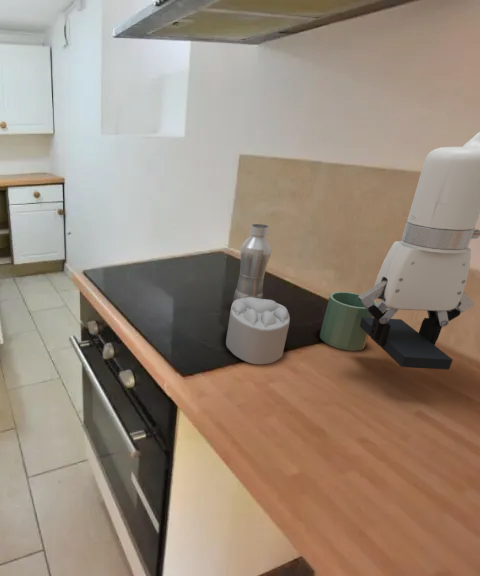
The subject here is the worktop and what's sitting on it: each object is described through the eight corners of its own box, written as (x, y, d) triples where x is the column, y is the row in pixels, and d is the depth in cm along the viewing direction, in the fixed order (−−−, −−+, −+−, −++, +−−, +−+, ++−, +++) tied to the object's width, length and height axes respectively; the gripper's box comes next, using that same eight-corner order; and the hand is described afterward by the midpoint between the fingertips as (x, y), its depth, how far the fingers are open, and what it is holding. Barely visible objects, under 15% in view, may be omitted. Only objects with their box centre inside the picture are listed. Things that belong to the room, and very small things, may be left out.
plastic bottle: (263, 307, 90) (278, 224, 83) (257, 318, 85) (273, 231, 77) (235, 301, 94) (247, 221, 86) (228, 311, 88) (240, 227, 81)
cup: (353, 332, 79) (365, 292, 76) (372, 352, 72) (386, 309, 69) (313, 329, 80) (323, 290, 77) (328, 349, 73) (340, 306, 70)
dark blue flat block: (398, 328, 68) (401, 319, 67) (448, 369, 56) (453, 359, 55) (359, 326, 69) (361, 317, 68) (401, 366, 57) (404, 356, 56)
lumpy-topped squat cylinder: (281, 335, 78) (289, 297, 74) (284, 369, 67) (294, 326, 63) (228, 326, 81) (233, 289, 78) (223, 357, 70) (229, 315, 67)
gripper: (482, 231, 58) (443, 334, 64) (358, 229, 60) (334, 329, 67) (526, 245, 51) (477, 359, 58) (384, 242, 53) (354, 351, 60)
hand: (400, 342), depth 62 cm, fingers closed on dark blue flat block, 6 cm apart
